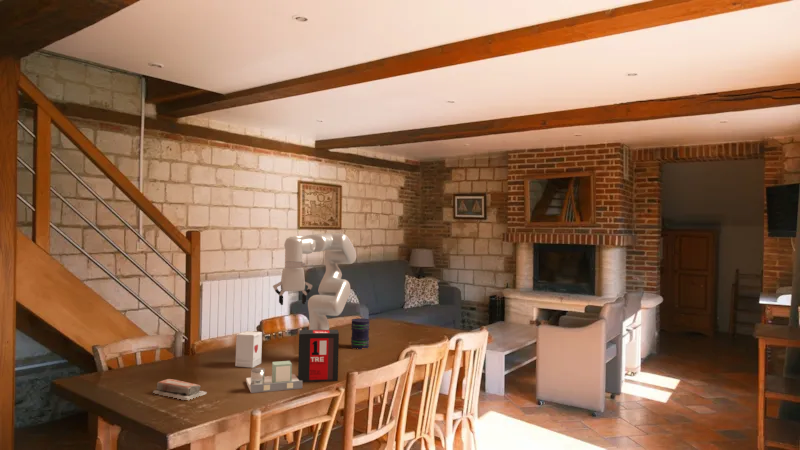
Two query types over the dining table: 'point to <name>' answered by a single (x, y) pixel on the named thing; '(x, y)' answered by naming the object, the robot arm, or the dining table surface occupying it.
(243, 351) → the supplement box
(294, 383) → the board
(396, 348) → the dining table surface
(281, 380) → the tea box
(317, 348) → the cleaning product box
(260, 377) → the clear glass cup
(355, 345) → the storage jar
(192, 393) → the notched trowel
